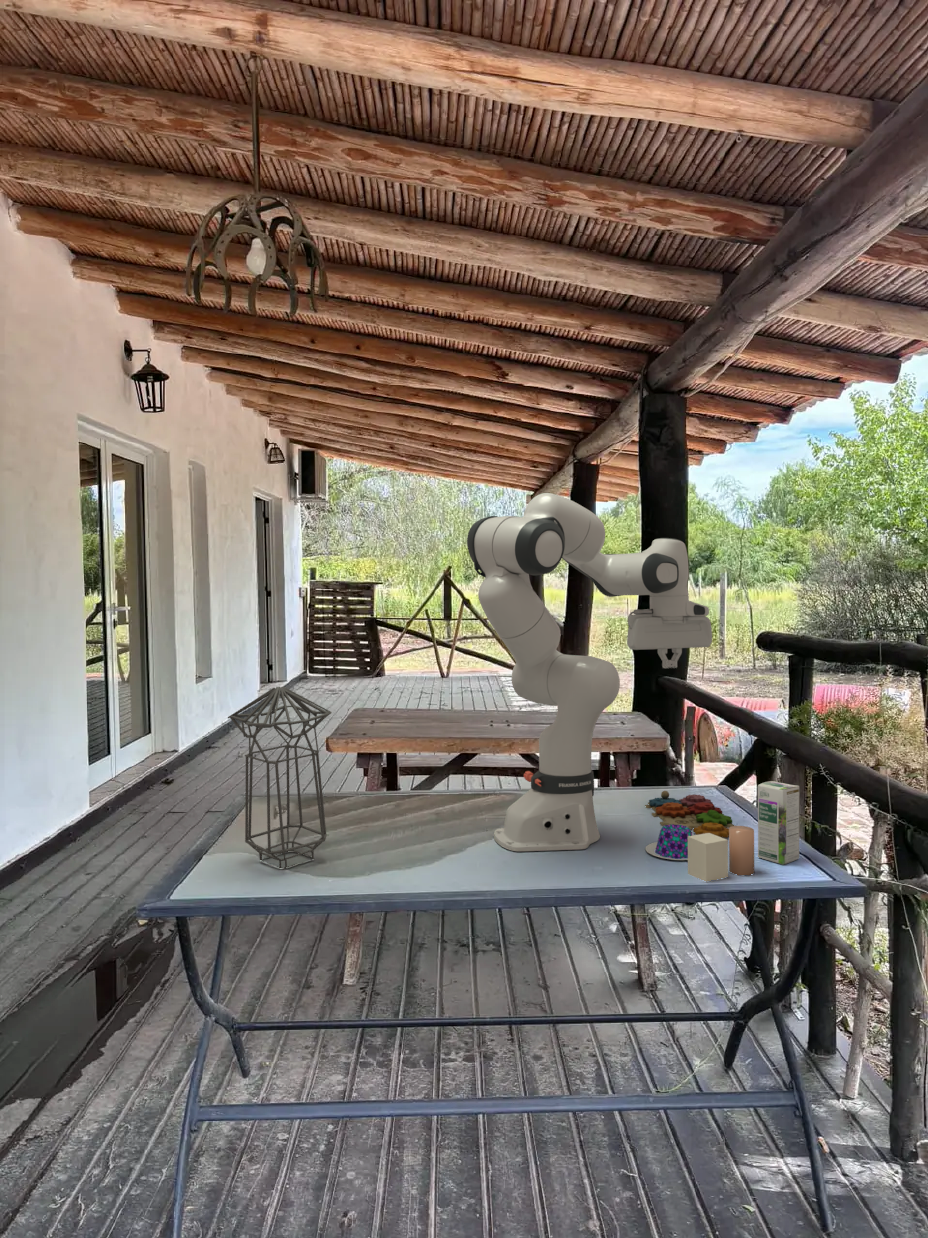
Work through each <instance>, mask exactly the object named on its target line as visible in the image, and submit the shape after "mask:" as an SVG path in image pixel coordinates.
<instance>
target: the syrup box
mask: <svg viewBox="0 0 928 1238" xmlns="http://www.w3.org/2000/svg"><path fill="white" fill-rule="evenodd" d="M757 828H758V829H757V858H758V857H759V858H758V859H760V858H762V859H761V860H766V861H769V862H773V863H776V864H779V865H781V866H782V865H784V866H785V865H787V864H790V863H792V862H794V861H796V860H799V859H800V785H794V784H789V783H783V782H778V781H774V780H773V781H772V780H771V781H765V782H762V783H760V784H758V785H757Z"/></svg>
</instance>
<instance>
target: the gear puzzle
mask: <svg viewBox="0 0 928 1238" xmlns="http://www.w3.org/2000/svg"><path fill="white" fill-rule="evenodd" d="M660 796H661V797H655V798H652V799H649V800H648V802H647V804H645V805H644V807H645V806H646V807H645V809H646V808H652V809H653V810H654V812H651V816H652V817H653V818H659V819H660V820H662V821H659V825H660V826H662V827H663V826H665V825H670V824H674V825H683V826H687V827H688V828H689V829H690V830H691V831H692V833H695V834H694V835H699V834H705V833H711V834H714V835H716V836H719V837H721V838H724V839H727V838H729V827H732V826H735V824H733V819H732V817H731V816H728V815H725V814H724V813H723V810H721V808H720V807H718V806H717V807H716V806H715V805H714V802H712V800H711V799H709V798H706V797H705V795H701V794H688V795H686V796H685V797H683V798H679V799H676V798H674V797H670V793H669V791H668V790H662V791H661V793H660ZM648 804H649V805H648ZM652 809H651V810H652ZM653 810H652V811H653ZM693 828H694V829H693Z"/></svg>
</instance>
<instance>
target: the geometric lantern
mask: <svg viewBox="0 0 928 1238" xmlns="http://www.w3.org/2000/svg"><path fill="white" fill-rule="evenodd" d="M280 699H281V700H282V704H283V705H282V706H279V707H278V705H279V700H280ZM286 700H287V701H286ZM260 701H262V702H260ZM259 702H260V704H258V705H257V707H256V708H254V710H253V711H252V712H250V713H242V712H244V711H245V710H247V709H249V708H251V707H253V706H254V705H256V704H257V703H259ZM270 702H271V703H270ZM287 702H288V703H289V704H290V705H287ZM294 702H295V703H296V704H297V705H298V706H297V705H296V704H295V703H294ZM269 704H270V705H269ZM268 706H269V707H268ZM267 707H268V711H267V712H264V710H265V709H266V708H267ZM310 707H312V708H313V709H315V710H312V708H310ZM288 708H292V709H293V710H294V712H295V713H296V715H297V716H298V718H299V720H295V721H291V717H290V714H289V710H288ZM278 711H280V712H279V713H278V715H277V712H278ZM284 712H285V715H286V716H285V717H286V721H279V719H280V718H281V716H282V714H284ZM301 712H303V713H306V715H307V714H308V715H307V718H306V719H305V717H304V716H303V714H302V713H301ZM273 714H274V715H273ZM331 714H332V711H330V710H328V709H327V708H325V707H323V706H321V705H319V704H317V703H315V702H313V701H312V700H310V699H308V698H305V696H302V695H300V694H298V693H296V692H295V691H292V690H291V689H290V688H289V689H288V688H287V687H285V686H276V687H272V688H271V689H270V690H268V691H266V692H265V693H262V694H261V695H260V696H258V697H257V698H255V699H254V700H252V701H251V702H249V703H247V704H245V705H244V706H243V707H241V708H239V709H238V710H237V711H235V712H234V713H232V714H231V715H228V717H227V719H230V720H231V721H232V722H233V724H234V725H235V726H236V727H237V728H238V730H240V732H241V733H242V734H243V736H242V737H244V738H248V753H247V754H244V757H245V800H244V801H245V806H244V807H245V809H244V811H245V821H244V822H245V823H244V824H245V828H244V829H245V831H244V833H245V835H244V842H245V843H246V844H248V845H249V846H250V847H251V848H252V849H254V851H256V852H257V853H258V855H259V861H260V860H262V858H263V856H266V857H271V858H270V859H274V860H276V861H278V864H279V866H278V867H279V868H283V867H282V862H283V861H284V868H286V867H289V866H293V865H295V864H296V863H295V864H291V865H289V866H288V860H289V859H292V858H296V857H299V856H304V855H308V853H311V855H310V856H312V858H311V859H314V860H315V857H314V855H315V854H314V851H315V850H316V849H317V848H318V847H319V846H320V845H322V843H323V842H326V840H327V836H328V835H327V826H326V818H325V815H326V814H325V808H324V807H325V805H324V799H323V798H324V797H323V795H324V794H323V786H322V778H321V777H322V775H321V764H320V756H319V755H320V754H319V752H320V751H319V744H318V739H317V731H316V730H317V729H316V728H317V727H318V725H320V723H322V722H323V721H324V720H325V719H326V718H327V717H329V716H330V715H331ZM276 715H277V716H276ZM311 715H313V716H314V717H313V716H312V717H311ZM260 716H261V717H263V716H265V718H264V721H263V722H260V721H259V720H260ZM272 716H273V719H272ZM244 717H246V718H244ZM252 717H253V718H252ZM251 718H252V719H251ZM250 719H251V721H250ZM268 720H269V722H268ZM272 720H273V721H272ZM237 721H238V722H239V721H240V722H241V725H240V724H239V723H238V722H237ZM255 721H256V722H255ZM312 721H314V723H313V724H310V722H312ZM297 724H302V728H301V731H300V733H298V734H295V735H294V733H293V729H292V725H297ZM245 725H246V726H247V729H248V732H246V730H245ZM282 725H288V726H289V732H290V733H288V732H287V731H285V730H284V729H283V728H282V727H280V726H282ZM251 727H255V730H254V733H253V734H252V729H251ZM307 727H308V728H307ZM270 728H273V729H274V730H275V732H276V733H277V734H278V735H279V736H280V737H281V738H282V739H283V741H284V742H285V743H286V744H284V745H281V746H276V747H270V748H265V749H263V748H262V747H261V745H260V743H259V742H258V739H257V735H258V734H259V733H260V732H262V730H263V729H270ZM306 728H307V729H306ZM312 729H313V731H314V738H315V746H316V749H313V745H312V744H311V741H310V739H309V737H308V734H307V733H309V732H310V731H312ZM248 733H249V734H248ZM281 733H282V734H284V735H285V736H286V737H288V738H289V740H286V738H285V737H284V736H283V735H282V734H281ZM302 736H304V738H305V740H306V742H307V745H308V747H309V748H308V747H304V746H300V745H298V744H299V742H300V740H301V738H302ZM251 739H252V741H251ZM293 739H296V741H295V743H294V745H292V744H290V743H291V741H292V740H293ZM255 744H256V747H257V748H258V750H255V751H254V746H255ZM282 748H283V750H282V752H281V753H280V755H279V756H278V758H277V759H276V760H269V759H268V757H267V755H266V754H265V752H267V751H272V750H277V749H282ZM290 749H294V757H290ZM297 749H302V750H305V751H309V752H311V753H309V754H305V755H304V754H303V755H299V756H298V750H297ZM285 750H286V751H285ZM284 752H286V758H285V759H284V758H283V759H280V758H281V757H282V755H283V754H284ZM259 753H261V755H262V757H263V758H264V759H262V758H258V757H255V756H254V754H259ZM307 757H311V760H312V767H313V768H312V769H313V777H314V784H315V792H316V801H317V807H318V808H317V809H318V817H319V818H318V819H319V825H320V831H319V830H317V829H314V828H312V827H311V828H310V827H309V826H305V825H303V812H302V811H303V809H302V799H301V787H300V786H301V784H300V773H299V762H298V759H302V758H307ZM254 760H257V761H260V762H263V763H265V764H266V811H267V812H266V816H267V817H266V818H267V822H266V823H267V825H266V826H267V830H265V831H262V832H258V833H255V834H252V807H253V806H252V805H253V772H254V771H253V769H254V768H253V767H254V766H253V764H254ZM292 760H294V761H295V762H294V764H295V765H294V767H295V777H296V790H297V803H298V804H297V805H298V813H299V814H298V817H299V824H290V822H291V821H290V820H291V819H290V816H291V812H290V810H291V808H290V761H292ZM283 762H286V825H284V824H283V823H284V821H283V814H282V812H283V811H282V801H281V786H280V775H279V774H280V773H279V764H278V763H283ZM270 764H272V765H274V768H275V781H276V792H277V805H278V816H279V817H278V820H279V827H275V828H273V829H271V791H270V790H271V789H270V788H271V786H270V785H271V783H270V781H271V779H270V778H271V777H270ZM289 828H298V829H297V831H296V833H295V835H294V836H293V839H292V840H290V829H289ZM284 829H286V836H287V839H286V840H285V837H284V834H285V833H284ZM301 829H304V830H307V831H310V832H313V833H314V834H317V835H320V836H321V837H320V838H319V839H318V840H315V841H314V840H313V841H311V842H307V843H305V844H304V843H300V842H297V841H296V839H297V837H298V834H299V832H300V830H301ZM278 831H280V840H281V841H280V843H277V844H275V845H272V843H271V840H272V839H271V834H272V833H274V832H278ZM265 835H267V847H266V848H264V847H262V846H260V845H258V844H256V843H255V842H254V840H252V839H254V838H257V837H260V836H265ZM285 844H286V846H285ZM289 844H291V847H289ZM294 844H295V845H294ZM271 845H272V846H271ZM279 846H281V849H278V850H272V849H274V848H277V847H279ZM302 848H309V850H306V851H302V852H300V851H297V850H298V849H302ZM288 851H295V852H298V853H299V854H298V853H295V852H294V853H295V854H293V855H290V856H287V857H286V853H285V852H288ZM281 853H283V854H282V855H283V858H279V857H278V856H275V855H277V854H281ZM302 854H304V855H302ZM262 861H263V860H262Z"/></svg>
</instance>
